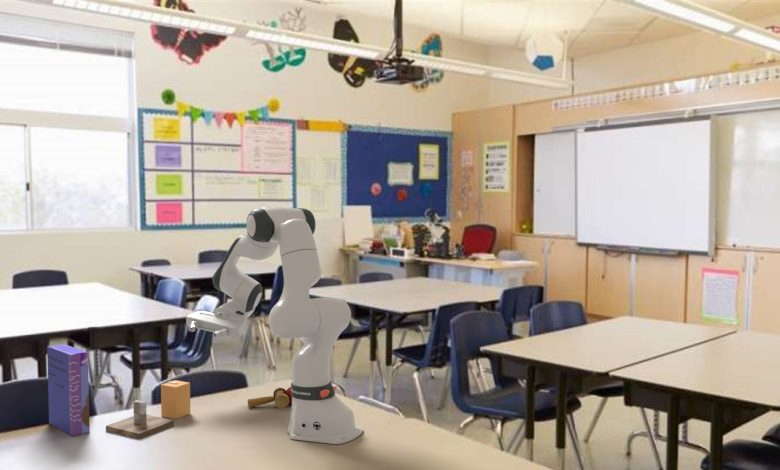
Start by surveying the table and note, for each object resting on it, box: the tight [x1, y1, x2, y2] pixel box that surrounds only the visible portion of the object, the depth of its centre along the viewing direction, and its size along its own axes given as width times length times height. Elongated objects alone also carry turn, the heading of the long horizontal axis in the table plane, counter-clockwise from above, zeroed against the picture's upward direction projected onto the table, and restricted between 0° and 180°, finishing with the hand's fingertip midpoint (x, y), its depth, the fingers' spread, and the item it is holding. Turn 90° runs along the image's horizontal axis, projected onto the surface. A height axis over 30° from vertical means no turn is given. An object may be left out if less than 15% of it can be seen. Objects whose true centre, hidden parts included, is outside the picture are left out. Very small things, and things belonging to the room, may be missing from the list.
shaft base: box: [105, 399, 175, 440], centre depth 195 cm, size 14×13×8 cm
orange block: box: [160, 379, 191, 420], centre depth 208 cm, size 6×6×10 cm
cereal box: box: [46, 343, 91, 437], centre depth 195 cm, size 17×5×24 cm, turn 48°
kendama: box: [247, 386, 292, 409], centre depth 217 cm, size 8×6×18 cm
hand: (202, 332), depth 216 cm, fingers open, 8 cm apart
